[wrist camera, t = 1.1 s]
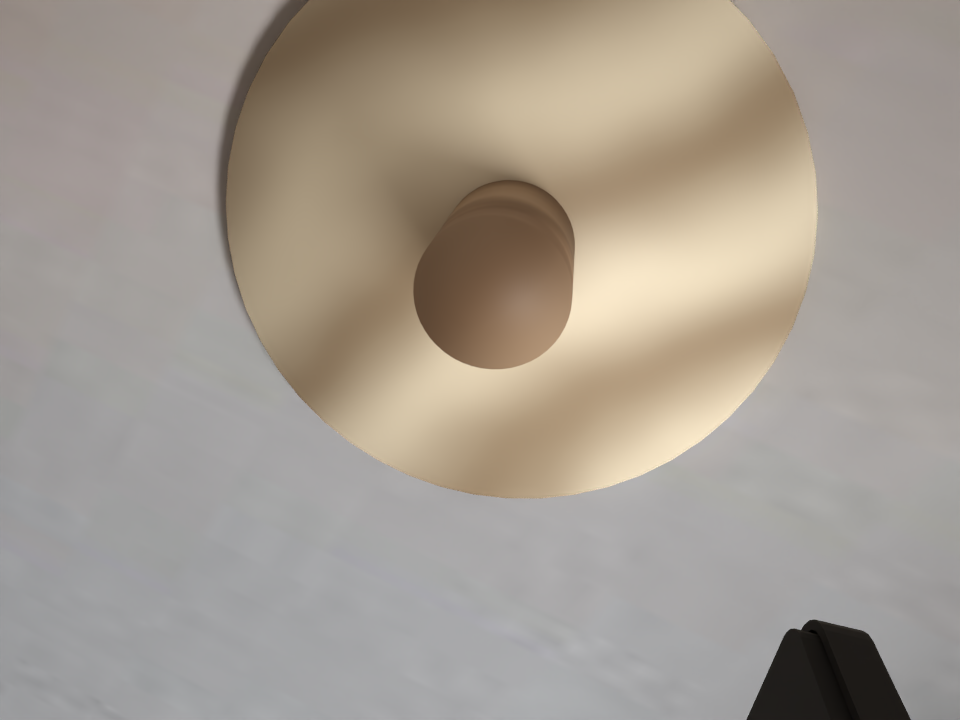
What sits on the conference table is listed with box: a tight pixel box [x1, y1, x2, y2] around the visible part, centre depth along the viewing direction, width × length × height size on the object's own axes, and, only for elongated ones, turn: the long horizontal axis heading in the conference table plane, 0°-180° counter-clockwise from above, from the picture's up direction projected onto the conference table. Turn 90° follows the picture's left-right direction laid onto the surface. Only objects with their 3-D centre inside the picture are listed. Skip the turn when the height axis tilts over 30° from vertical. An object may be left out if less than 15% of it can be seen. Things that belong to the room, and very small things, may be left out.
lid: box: [226, 0, 818, 498], centre depth 23 cm, size 18×18×6 cm
